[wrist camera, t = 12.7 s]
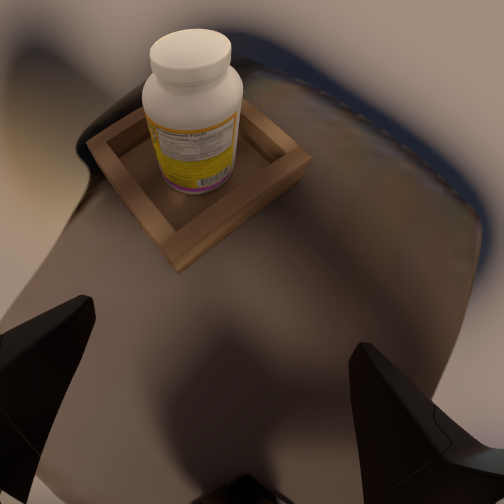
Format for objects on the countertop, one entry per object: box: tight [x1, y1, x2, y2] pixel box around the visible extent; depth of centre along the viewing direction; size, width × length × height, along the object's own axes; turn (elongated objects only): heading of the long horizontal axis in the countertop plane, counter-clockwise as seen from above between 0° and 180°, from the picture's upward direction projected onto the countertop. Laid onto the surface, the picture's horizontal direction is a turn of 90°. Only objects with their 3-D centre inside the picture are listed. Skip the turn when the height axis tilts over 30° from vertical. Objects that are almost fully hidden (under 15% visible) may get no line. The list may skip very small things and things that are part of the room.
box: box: [86, 98, 312, 274], centre depth 24 cm, size 14×14×4 cm
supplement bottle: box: [142, 29, 243, 194], centre depth 19 cm, size 7×7×13 cm
